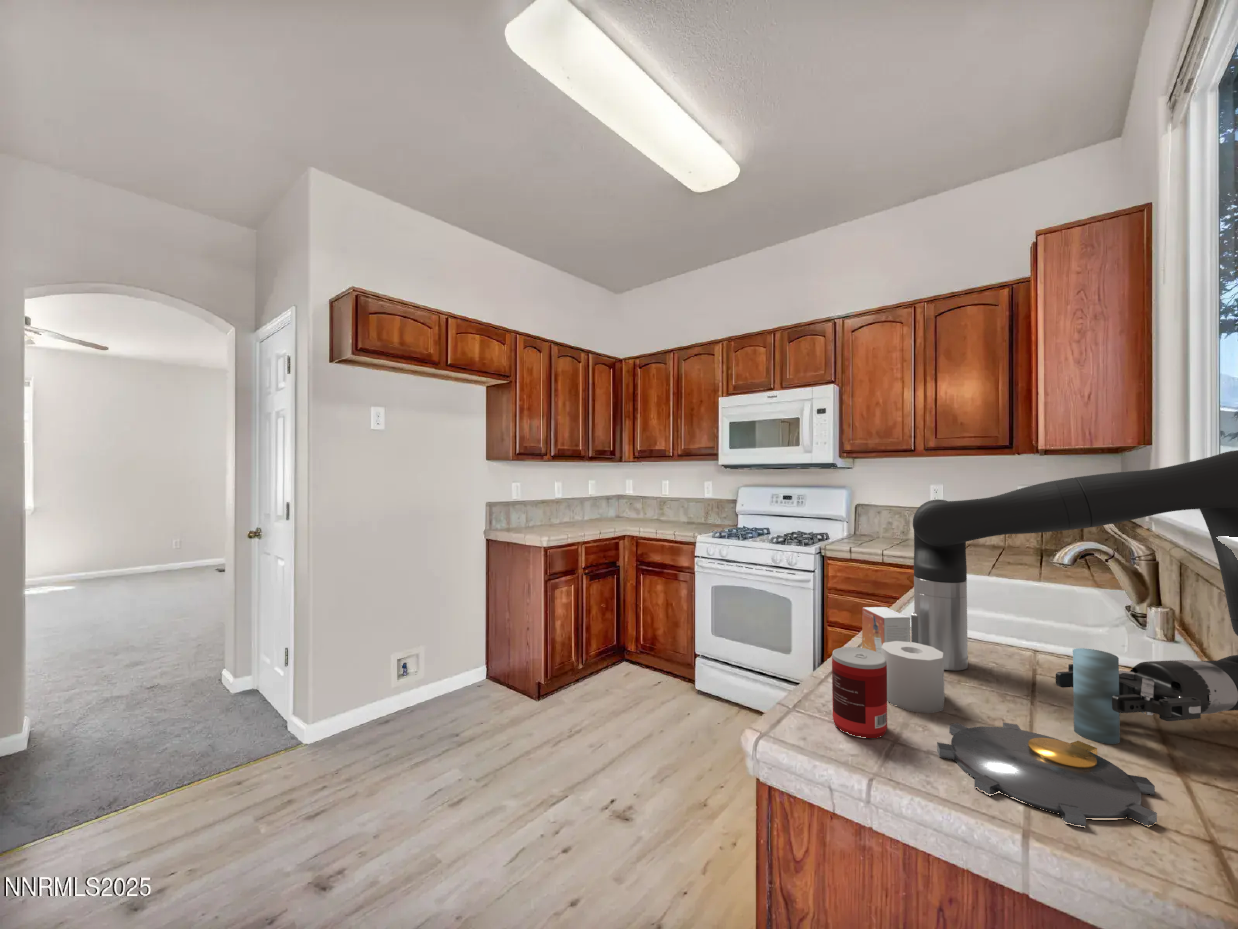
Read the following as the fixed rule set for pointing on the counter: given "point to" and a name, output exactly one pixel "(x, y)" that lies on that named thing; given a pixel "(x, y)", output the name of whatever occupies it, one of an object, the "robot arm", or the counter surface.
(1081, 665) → the pin
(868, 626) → the small box
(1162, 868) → the counter surface
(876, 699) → the canned food
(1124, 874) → the counter surface
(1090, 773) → the sprocket plate
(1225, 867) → the counter surface
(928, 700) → the toilet tissue
